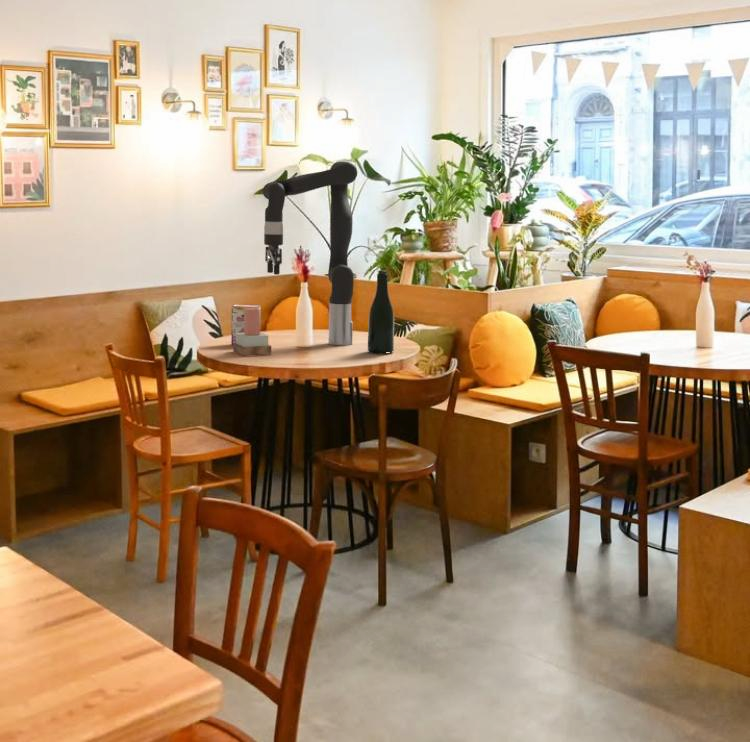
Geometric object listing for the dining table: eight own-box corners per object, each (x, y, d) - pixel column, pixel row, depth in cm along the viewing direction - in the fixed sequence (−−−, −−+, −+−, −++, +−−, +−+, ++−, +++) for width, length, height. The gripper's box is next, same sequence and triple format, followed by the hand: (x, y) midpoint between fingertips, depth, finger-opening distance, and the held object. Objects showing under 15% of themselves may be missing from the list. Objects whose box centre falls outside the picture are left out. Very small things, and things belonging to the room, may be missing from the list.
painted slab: (259, 342, 428) (259, 332, 427) (268, 345, 419) (268, 335, 418) (235, 343, 424) (235, 333, 423) (243, 346, 415) (243, 336, 414)
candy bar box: (231, 345, 440) (231, 305, 437) (233, 343, 445) (233, 304, 442) (257, 346, 439) (258, 306, 436) (260, 344, 444) (260, 305, 441)
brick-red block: (256, 332, 424) (256, 307, 422) (260, 334, 419) (259, 309, 417) (244, 333, 422) (243, 308, 420) (247, 335, 417) (247, 310, 415)
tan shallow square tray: (262, 351, 430) (262, 341, 429) (271, 356, 419) (271, 346, 419) (233, 352, 426) (233, 342, 425) (241, 357, 415) (241, 347, 414)
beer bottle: (376, 355, 425) (379, 271, 419) (362, 351, 434) (364, 269, 428) (398, 353, 431) (401, 271, 425) (384, 349, 439) (386, 269, 434)
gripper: (288, 234, 425) (287, 275, 428) (277, 232, 438) (276, 272, 441) (270, 234, 422) (269, 275, 425) (259, 232, 435) (259, 272, 438)
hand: (273, 273), depth 433 cm, fingers open, 8 cm apart
